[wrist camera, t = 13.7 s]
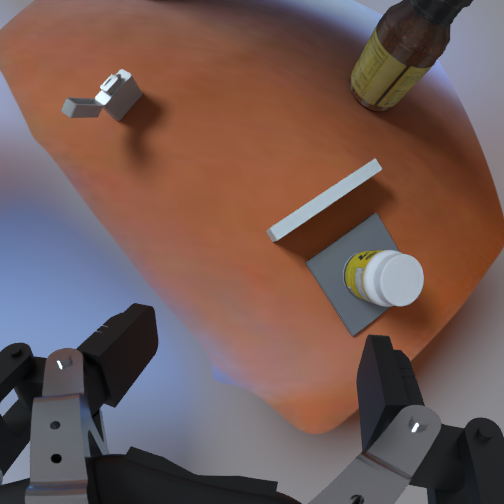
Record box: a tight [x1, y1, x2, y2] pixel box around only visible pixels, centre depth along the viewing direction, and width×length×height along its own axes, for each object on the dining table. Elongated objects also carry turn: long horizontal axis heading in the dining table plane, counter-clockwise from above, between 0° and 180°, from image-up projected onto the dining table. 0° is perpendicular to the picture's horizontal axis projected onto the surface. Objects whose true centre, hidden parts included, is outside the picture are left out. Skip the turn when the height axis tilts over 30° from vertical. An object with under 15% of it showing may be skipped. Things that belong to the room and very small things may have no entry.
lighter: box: [61, 69, 143, 121], centre depth 26 cm, size 7×2×8 cm, turn 142°
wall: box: [266, 159, 382, 242], centre depth 28 cm, size 1×12×4 cm, turn 123°
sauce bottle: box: [350, 0, 473, 111], centre depth 21 cm, size 7×6×20 cm
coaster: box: [305, 213, 399, 336], centre depth 30 cm, size 9×9×1 cm
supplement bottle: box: [343, 250, 424, 307], centre depth 26 cm, size 5×5×8 cm
